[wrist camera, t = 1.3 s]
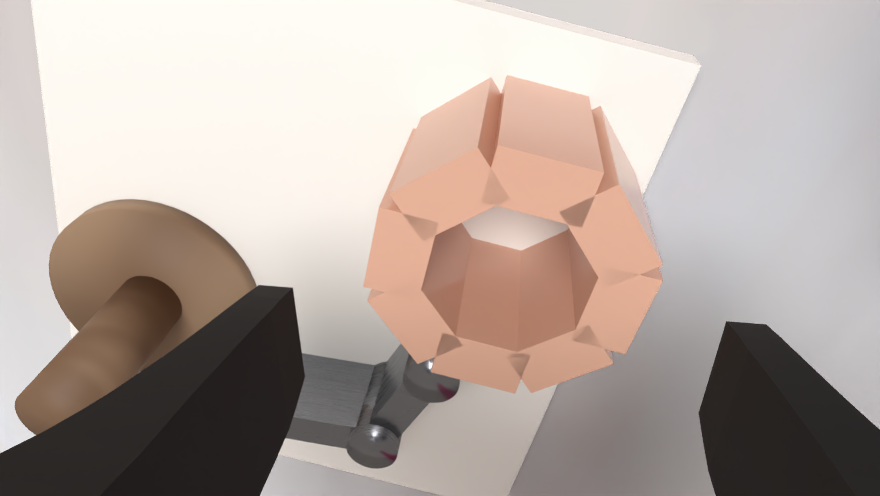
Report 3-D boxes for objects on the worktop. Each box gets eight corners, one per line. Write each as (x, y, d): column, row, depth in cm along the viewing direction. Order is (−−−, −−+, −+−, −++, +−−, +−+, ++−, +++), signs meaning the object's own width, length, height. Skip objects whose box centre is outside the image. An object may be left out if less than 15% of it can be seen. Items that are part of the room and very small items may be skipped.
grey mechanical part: (474, 299, 18) (465, 368, 16) (437, 417, 21) (424, 491, 18) (270, 246, 18) (229, 308, 16) (258, 371, 20) (222, 440, 18)
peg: (267, 230, 18) (181, 356, 13) (253, 386, 21) (181, 526, 17) (51, 175, 18) (-106, 282, 13) (71, 339, 21) (-51, 468, 16)
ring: (666, 116, 15) (704, 199, 11) (583, 304, 18) (594, 414, 14) (428, 54, 15) (396, 118, 11) (386, 253, 18) (350, 351, 14)
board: (693, 55, 15) (701, 65, 14) (501, 491, 23) (500, 510, 23) (41, -117, 14) (17, -115, 14) (92, 387, 23) (78, 403, 22)
